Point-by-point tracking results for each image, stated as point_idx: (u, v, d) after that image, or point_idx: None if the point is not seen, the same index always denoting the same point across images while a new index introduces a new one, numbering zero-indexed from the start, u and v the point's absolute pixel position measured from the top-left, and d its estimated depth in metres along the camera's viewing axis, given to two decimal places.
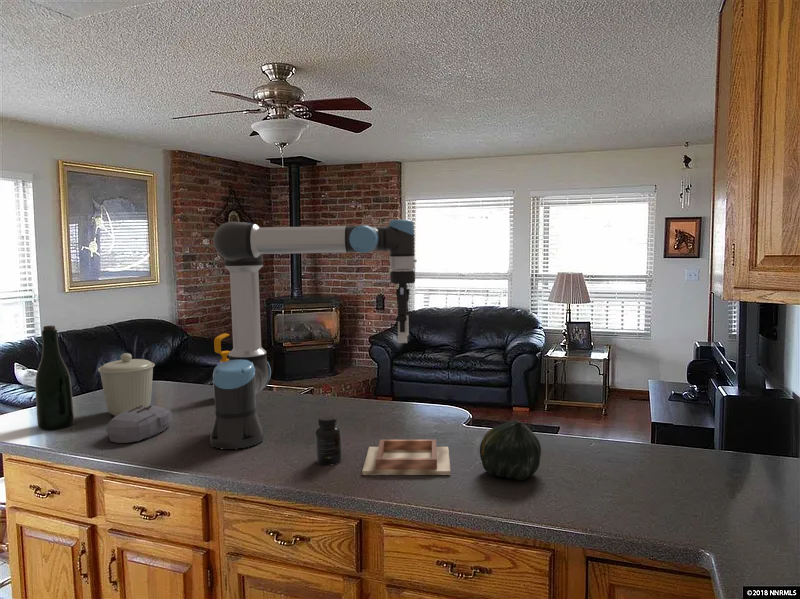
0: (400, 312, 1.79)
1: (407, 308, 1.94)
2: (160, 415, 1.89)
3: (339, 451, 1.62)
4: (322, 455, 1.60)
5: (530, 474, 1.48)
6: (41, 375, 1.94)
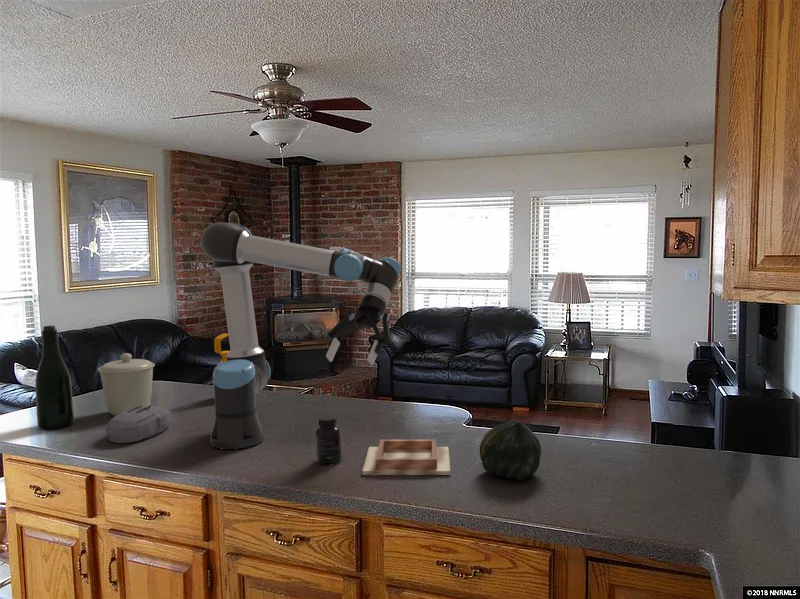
0: (389, 334, 1.71)
1: (345, 336, 1.79)
2: (159, 415, 1.89)
3: (339, 451, 1.62)
4: (322, 455, 1.60)
5: (530, 474, 1.48)
6: (41, 375, 1.94)
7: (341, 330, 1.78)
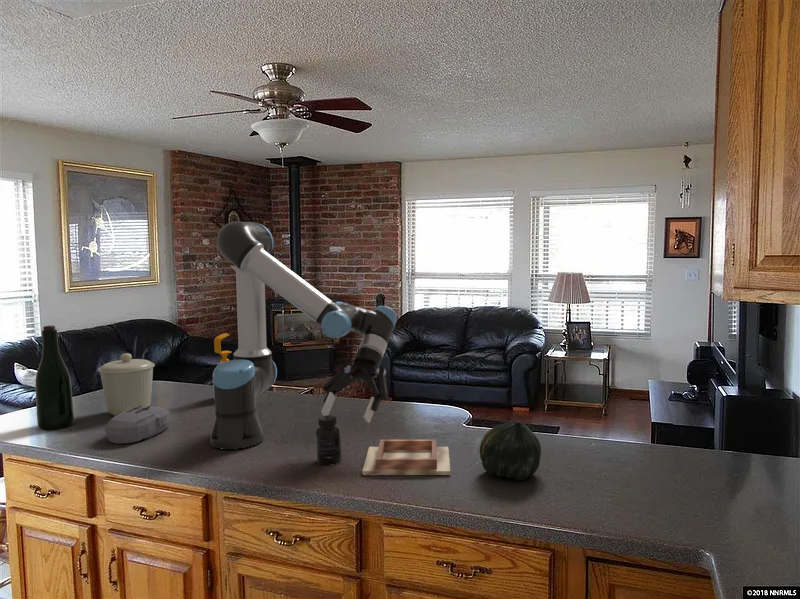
0: (385, 390, 1.68)
1: (341, 389, 1.75)
2: (158, 416, 1.89)
3: (339, 451, 1.62)
4: (322, 455, 1.60)
5: (530, 474, 1.48)
6: (41, 375, 1.94)
7: (337, 384, 1.74)
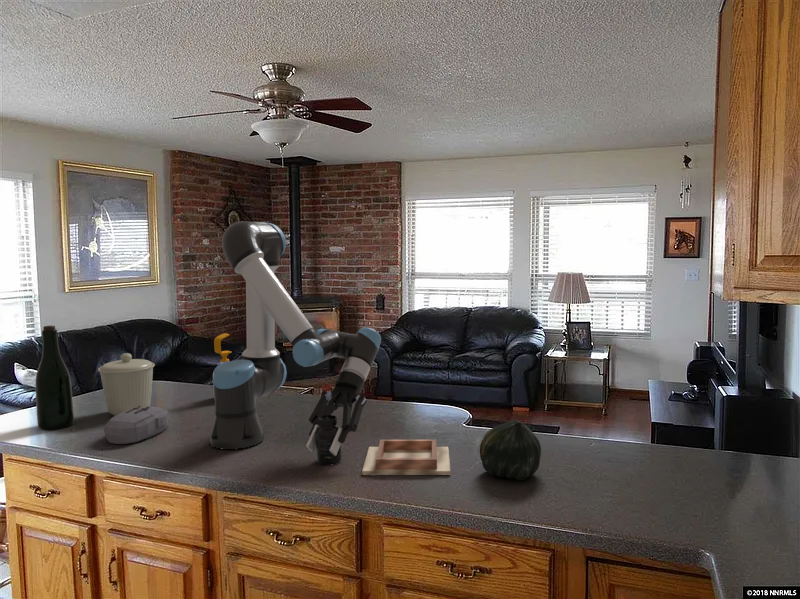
0: (355, 422, 1.62)
1: None
2: (158, 416, 1.88)
3: (339, 451, 1.62)
4: (322, 455, 1.60)
5: (530, 474, 1.48)
6: (41, 375, 1.94)
7: (321, 414, 1.66)
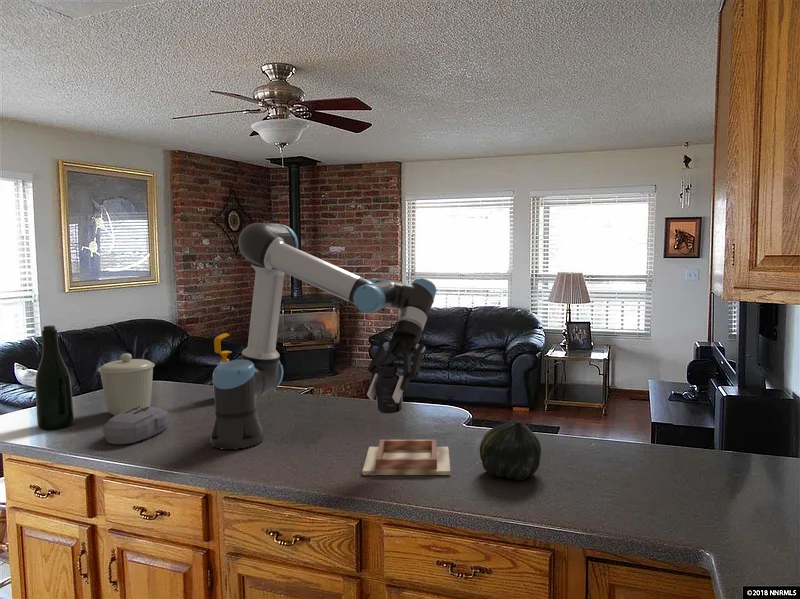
0: (416, 369, 1.58)
1: None
2: (157, 416, 1.88)
3: (400, 399, 1.58)
4: (383, 403, 1.57)
5: (530, 474, 1.48)
6: (41, 375, 1.94)
7: (380, 363, 1.63)
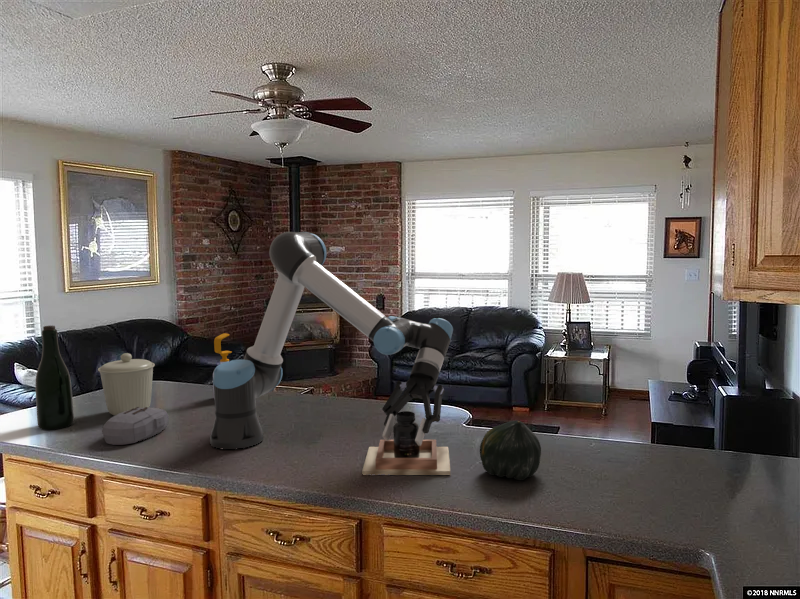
0: (438, 411, 1.59)
1: (400, 409, 1.66)
2: (156, 417, 1.87)
3: (418, 447, 1.60)
4: (401, 452, 1.58)
5: (530, 474, 1.48)
6: (41, 375, 1.94)
7: (396, 404, 1.64)
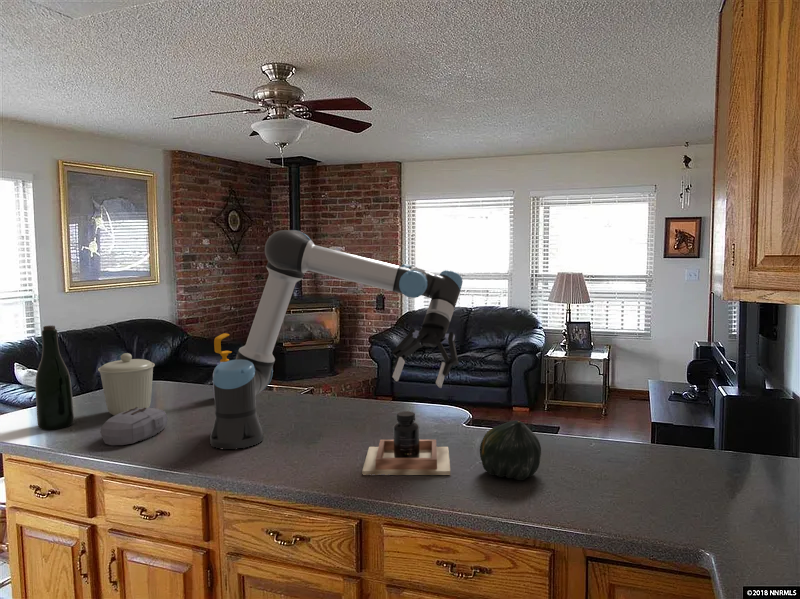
0: (456, 355, 1.70)
1: None
2: (154, 417, 1.87)
3: (418, 447, 1.60)
4: (401, 452, 1.58)
5: (530, 474, 1.48)
6: (41, 375, 1.94)
7: (406, 349, 1.77)
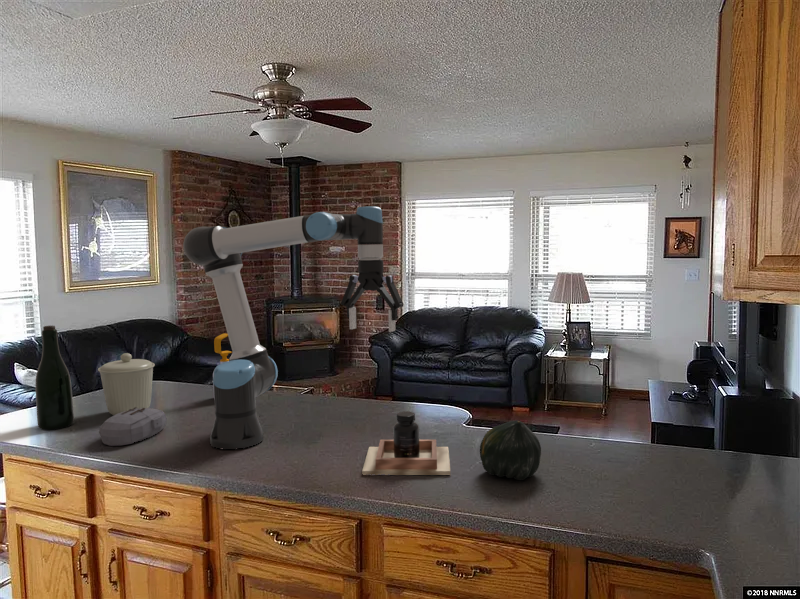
0: (398, 299, 1.78)
1: (357, 299, 1.86)
2: (153, 417, 1.87)
3: (418, 447, 1.60)
4: (401, 452, 1.58)
5: (530, 474, 1.48)
6: (41, 375, 1.94)
7: (352, 299, 1.85)
